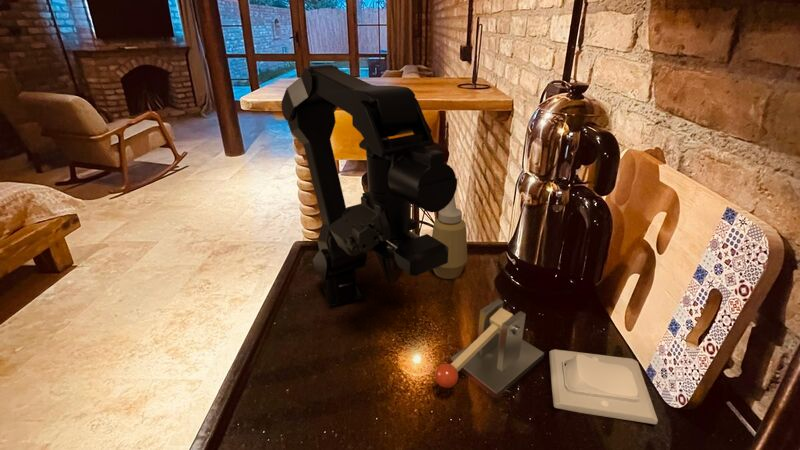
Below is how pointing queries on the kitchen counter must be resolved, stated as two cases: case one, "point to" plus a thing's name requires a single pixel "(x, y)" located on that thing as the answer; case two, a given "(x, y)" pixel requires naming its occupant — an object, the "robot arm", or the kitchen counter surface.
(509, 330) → the bracket
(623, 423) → the kitchen counter surface
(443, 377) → the lever
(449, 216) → the squeeze bottle
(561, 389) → the light switch
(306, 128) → the robot arm
